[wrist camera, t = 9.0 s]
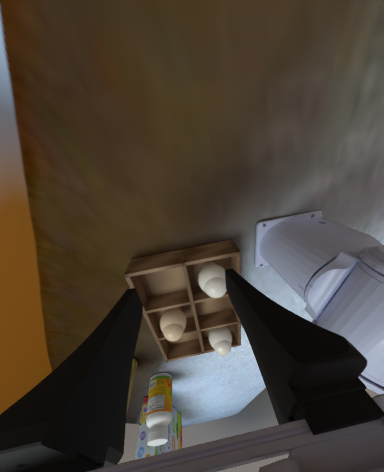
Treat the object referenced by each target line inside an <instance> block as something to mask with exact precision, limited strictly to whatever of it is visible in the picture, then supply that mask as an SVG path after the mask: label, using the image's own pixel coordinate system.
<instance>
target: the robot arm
mask: <svg viewBox="0 0 384 472" xmlns="http://www.w3.org/2000/svg"><path fill="white" fill-rule="evenodd" d="M311 215H312V216H311ZM263 224H265V225H264V226H263ZM260 264H261V265H260ZM254 265H255V267H256V268H261V267H265V266H271V267H272V268H273V269H274V270H275V271H276V272H277V273H278V274H279V275H280V276H281V277H282V278H283V279H284V280H285V281H286V283H287V284H288V285H289V286H290V287H291V288H292V289H293V290H294V291H295V292H296V293H297V294H298V295H299V296H300V297H301V298H302V299H303V300H304V301H305V302H306V308H305V311H306V312H307V313H308V314H309V315H310V316H311V317H312V318H313V321H312V322H310V321H308V320H306V319H304V318H302V317H300V316H298V315H296V314H294V313H293V312H291V311H289V310H287V309H285V308H284V307H282V306H280V305H279V304H277V303H276V302H274V301H272V300H271V299H269V298H268V297H267V296H265V295H264V294H262V293H261V292H260V291H258V290H257V289H256V288H255V287H253V286H252V285H251V284H250V283H248V282H247V281H246V280H245V279H244V278H243V277H241V276H240V275H239V274H238V273H237V272H236V271H235V270H234V269H233V268H231V269H226V270H225V281H226V290H227V293H228V295H229V298H230V301H231V303H232V305H233V307H234V309H235V311H236V313H237V315H238V317H239V319H240V322H241V324H242V326H243V328H244V330H245V332H246V334H247V337H248V340H249V342H250V345H251V347H252V350H253V353H254V355H255V358H256V361H257V363H258V366H259V369H260V372H261V374H262V377H263V380H264V383H265V385H266V388H267V391H268V394H269V397H270V400H271V403H272V406H273V409H274V412H275V415H276V418H277V421H278V423H279V425H277V426H273V427H269V428H265V429H261V430H257V431H253V432H248V433H244V434H240V435H236V436H232V437H228V438H223V439H219V440H216V441H211V442H207V443H203V444H199V445H195V446H191V447H187V448H182V449H178V450H174V451H170V452H166V453H162V454H158V455H153V456H149V457H145V458H141V459H137V460H133V461H129V462H125V463H121V464H117V463H118V462H119V461H120V459H121V458H122V456H123V452H124V438H125V424H126V413H127V403H128V393H129V385H130V376H131V369H132V362H133V356H134V351H135V347H136V342H137V338H138V334H139V329H140V325H141V320H142V312H143V304H142V302H141V300H140V298H139V295H138V293H137V291H136V289H135V288H132V289H127V291H126V292H125V293H124V294H123V296H122V297H121V298H120V300H119V301H118V302H117V303H116V305H115V306H114V307H113V309H112V310H111V311H110V312H109V314H108V315H107V316H106V317H105V318H104V320H103V321H102V322H101V323H100V324H99V326H98V327H97V328H96V329H95V330H94V331H93V332H92V334H91V335H90V336H89V337H88V338H87V339H86V340H85V341H84V342H83V343H82V344H81V345H80V346H79V347H78V348H77V349H76V350H75V351H74V352H73V353H72V354H71V355H70V356H69V357H68V358H67V359H66V360H65V361H64V362H63V363H62V364H60V365H59V366H58V367H57V368H56V369H55V370H54V371H53V372H52V373H51V374H49V375H48V376H47V377H46V378H45V379H44V380H42V381H41V382H40V383H39V384H38V385H37V386H36V387H34V388H33V389H32V390H31V391H29V392H28V393H27V394H26V395H24V396H23V397H22V398H21V399H19V400H18V401H17V402H16V403H14V404H13V405H12V406H11V407H9V408H8V409H7V410H6V411H4V412H3V413H2V414H1V415H0V472H216V471H220V470H224V469H228V468H232V467H236V466H240V465H244V464H248V463H252V462H256V461H260V460H264V459H268V458H272V457H276V456H280V455H284V454H288V453H289V456H288V458H286V459H282V460H279V461H277V462H274V463H271V464H268V465H266V466H263V467H260V469H259V472H384V245H382V244H381V243H380V242H379V241H378V240H376V239H375V238H374V237H372V236H370V235H368V234H366V233H363V232H360V231H357V230H354V229H351V228H348V227H346V226H343V225H340V224H337V223H334V222H331V221H328V220H326V219H323V218H322V211H314V212H308V213H303V214H298V215H293V216H288V217H282V218H277V219H272V220H267V221H262V222H258V223H257V225H256V244H255V264H254ZM366 387H367V388H368V389H370V390H372V391H374V392H376V393H378V394H380V395H377V396H375V397H373V398H371V397H370V396H369V394H368V393H367V392H366V391H365V390H364V389H366Z"/></svg>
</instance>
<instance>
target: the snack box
mask: <svg viewBox="0 0 384 472" xmlns="http://www.w3.org/2000/svg"><path fill="white" fill-rule="evenodd" d="M148 397H149V396H147V397H144V398H143V404H142V411H141V418H140V425H139V432H138V439H137V445H136V453H135V459H134V460H137V459H141V458H145V457H149V456H153V455H158V454H162V453H166V452H170V451H174V450H178V449H182V420H181V414H180V413H179V412H178V411H177V410H176V409H175V408H174V407H173V406H172V419H171V422H170V424H169V425H168V426H167V428H168V442H167V443H165V444H163V445H159V446H148V445H147V440H148V432H149V431H150V428H149V427H148V426H147V424H146V415H147V406H148Z"/></svg>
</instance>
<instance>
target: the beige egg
mask: <svg viewBox="0 0 384 472" xmlns="http://www.w3.org/2000/svg"><path fill="white" fill-rule="evenodd" d="M186 323H187V319H186V315H185V313H184V312H183V310H181V307H175V308H171V309H166V310H165V311H164V312H163V314H162V316H161V319H160V328H161V331H162V332H163V335H164V337H165V338H166V339H167V340H168V341H171V342H174V341H177V340H179V339H180V338H181V336H182V335H183V332H184V330H185V327H186Z"/></svg>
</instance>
